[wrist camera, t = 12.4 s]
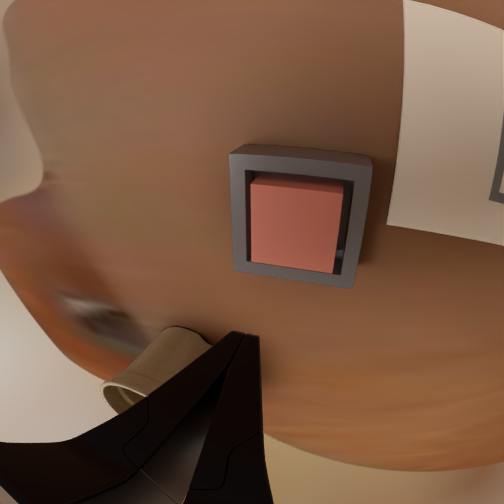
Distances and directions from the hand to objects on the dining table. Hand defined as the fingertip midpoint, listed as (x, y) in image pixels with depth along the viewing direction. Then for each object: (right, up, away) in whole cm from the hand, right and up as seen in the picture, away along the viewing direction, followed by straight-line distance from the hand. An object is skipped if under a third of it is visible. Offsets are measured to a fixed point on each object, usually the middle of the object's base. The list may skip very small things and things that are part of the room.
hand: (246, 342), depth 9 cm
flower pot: (-6, -7, +19) cm, 21 cm away
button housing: (+3, +5, +9) cm, 11 cm away
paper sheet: (+17, +9, +2) cm, 20 cm away
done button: (+3, +5, +8) cm, 10 cm away
